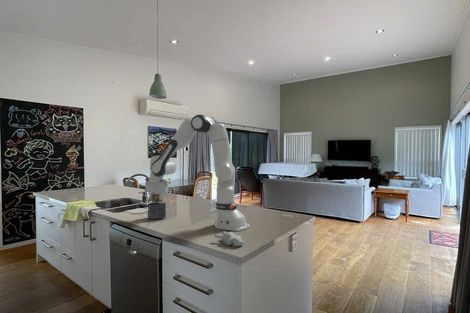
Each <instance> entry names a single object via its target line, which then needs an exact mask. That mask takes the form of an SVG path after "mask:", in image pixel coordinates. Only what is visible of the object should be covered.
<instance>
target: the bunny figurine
mask: <svg viewBox="0 0 470 313" xmlns="http://www.w3.org/2000/svg"><path fill="white" fill-rule="evenodd" d="M214 238H218V239H221V240H222V243H224V244H225V245H226V246H232V247H234V248H237V247H240V246H242V245H244V240H243V239H242V236H241V235H236V234H235V233H234V232H232V231H229V232H227V231H226V230H224V231H222V232H221V234H219V233H215V234H214Z"/></svg>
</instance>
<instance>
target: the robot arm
mask: <svg viewBox="0 0 470 313" xmlns="http://www.w3.org/2000/svg"><path fill="white" fill-rule="evenodd" d="M227 131H228V130H227V128H226V126H225V125H224V123H221V122H217V121H216V119H215V118H214V117H212V116H209V115H206V114H196V115H194V116H193V117H186V118H185V119H184V120H183V121H182V122H181V124H180V126H179V127H178V129H177V131H176V132H175V134H174V135H173V137H172V138H171V139H170V140H169V142H167V144H165V145H166V146H165V147H164V149H163V150H162V152H161V153H160V154H159V155H158V154H157V155H152V156H151V157H150V161H149V162H150V163H149V170H150V172H149V176H148V177H146V178H145V179H144V180H145V182H144V183H145V184H144V186H145V191H146V192H148V193H150V195H151V196H152V194H159V195H160V196H159V197H158V200H162V201H163V196H164V195H167V194H169V192H170V190H169V183H168V181H167V180H166V179H164V176H168V175H172V174H174V173H175V172H176V170H177V164H176V163H175V161H173V160H171V158H172V156H173V155H174V154H175V153H176V152H178V151H179V150H181V149H184V148H187V147H188V146H189V145H190V144H191V143H192V141H193V139H194V137H195V136H196V134H197V133H202V134H208V135H209V138H210V143H211V148H212V154H213V155H212V156H213V164H214V166H213V167H214V173H215V177H216V178H217V185H216V202H215V208H216V210H215V212H216V213H215V219H214V223H213V226H214V228H215V229H218V230H219V229H220V230H224V231H234V232H240V231H245V230H247V229H249V228H250V227H251V226H250V223H247V221H246V216H245V215H244V214H243V213H242V212H241V211H240V210H239V209H238V205H239V204H238V203H236V202H235V185H236V183H235V182H236V181H235V180H236V168H235V166H234V164H233V159H232V150H231V145H230V144H231V143H230V140H229V136H228V135H229V134H228V132H227Z"/></svg>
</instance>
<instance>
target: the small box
mask: <svg viewBox="0 0 470 313" xmlns="http://www.w3.org/2000/svg"><path fill="white" fill-rule="evenodd" d="M166 204H167V203H166V202H157V203H156V202H150V203H148V204H147V220H156V221H157V220H159V221H160V220H161V221H163V220H164V219H166V218H167V217H166V216H167V215H166V212H167V211H166V210H167V209H166V207H167V206H166Z"/></svg>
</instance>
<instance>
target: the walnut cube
mask: <svg viewBox="0 0 470 313" xmlns="http://www.w3.org/2000/svg"><path fill="white" fill-rule="evenodd" d="M159 196H160V195H159V193H154V194H152V195H151V203H163V199H162V200H158V197H159Z"/></svg>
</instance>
